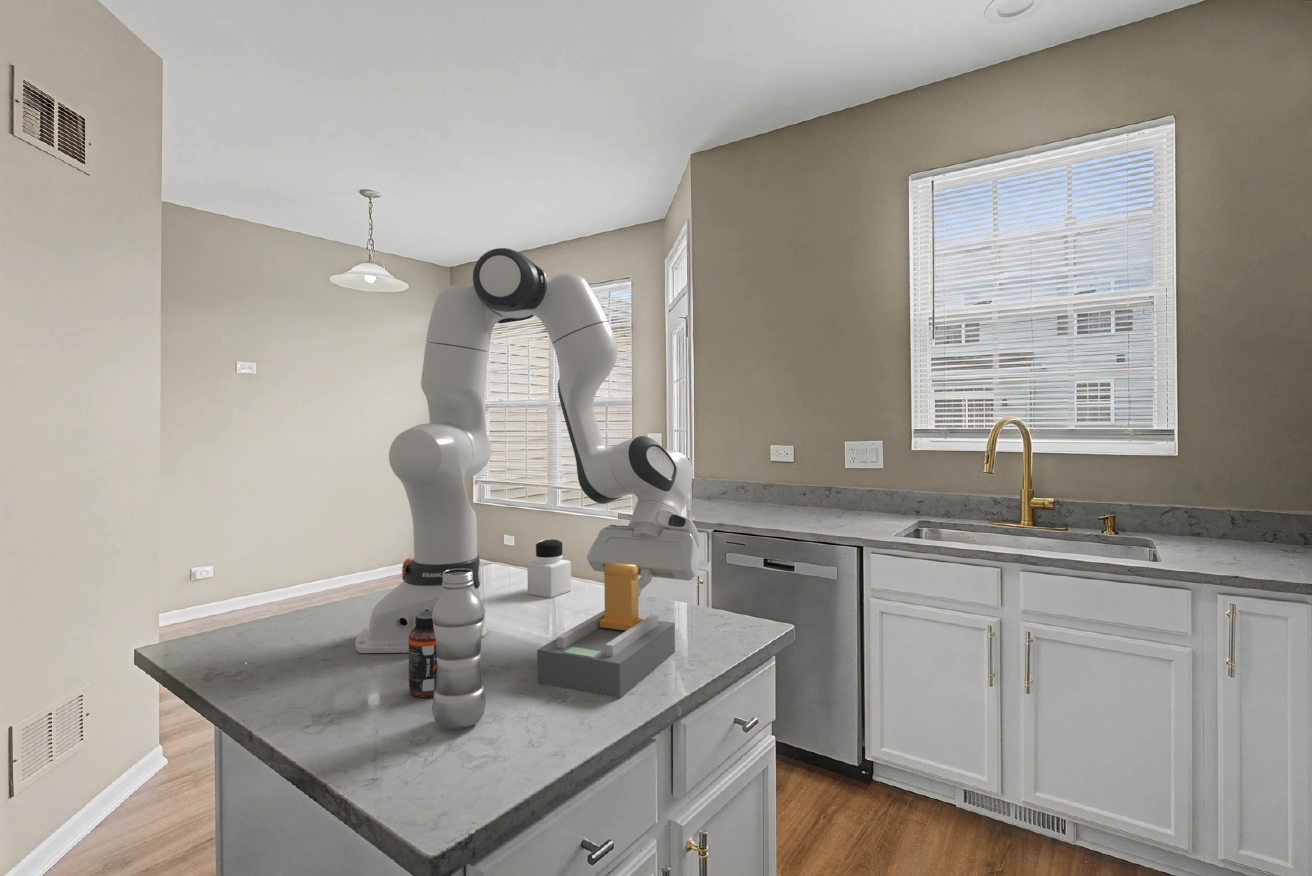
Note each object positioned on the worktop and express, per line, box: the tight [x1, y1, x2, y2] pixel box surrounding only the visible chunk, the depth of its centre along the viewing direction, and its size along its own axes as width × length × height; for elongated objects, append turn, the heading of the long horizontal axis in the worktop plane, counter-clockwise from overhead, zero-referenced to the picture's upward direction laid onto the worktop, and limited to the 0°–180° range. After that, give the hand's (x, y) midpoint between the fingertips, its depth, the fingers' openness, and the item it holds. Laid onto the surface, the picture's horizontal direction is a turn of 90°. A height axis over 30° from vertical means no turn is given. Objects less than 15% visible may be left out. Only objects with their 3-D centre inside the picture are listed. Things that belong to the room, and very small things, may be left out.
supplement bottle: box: [408, 611, 437, 698], centre depth 95 cm, size 6×6×11 cm
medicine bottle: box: [526, 538, 572, 599], centre depth 148 cm, size 7×7×12 cm
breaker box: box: [536, 609, 676, 699], centre depth 104 cm, size 20×14×7 cm
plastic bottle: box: [431, 569, 487, 730], centre depth 84 cm, size 6×7×20 cm
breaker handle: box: [600, 562, 644, 631], centre depth 107 cm, size 4×6×10 cm, turn 65°
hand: (629, 594), depth 110 cm, fingers closed
